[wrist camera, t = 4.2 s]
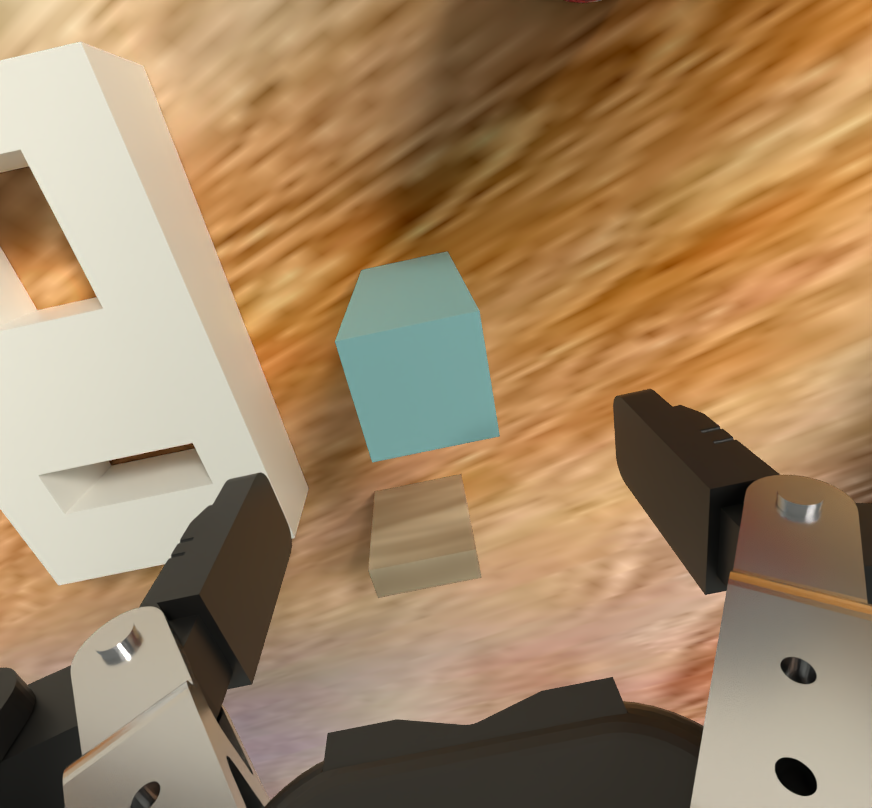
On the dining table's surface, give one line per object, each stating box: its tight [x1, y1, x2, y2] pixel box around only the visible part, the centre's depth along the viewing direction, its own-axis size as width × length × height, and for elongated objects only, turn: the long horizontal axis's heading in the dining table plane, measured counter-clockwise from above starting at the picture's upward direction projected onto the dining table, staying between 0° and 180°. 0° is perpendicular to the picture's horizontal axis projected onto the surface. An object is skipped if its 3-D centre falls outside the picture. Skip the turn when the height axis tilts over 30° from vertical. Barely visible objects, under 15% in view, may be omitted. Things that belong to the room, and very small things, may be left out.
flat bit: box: [368, 474, 482, 598], centre depth 25 cm, size 2×5×6 cm, turn 101°
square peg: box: [335, 251, 500, 462], centre depth 19 cm, size 4×4×10 cm
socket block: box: [0, 42, 309, 585], centre depth 21 cm, size 20×12×4 cm, turn 11°
